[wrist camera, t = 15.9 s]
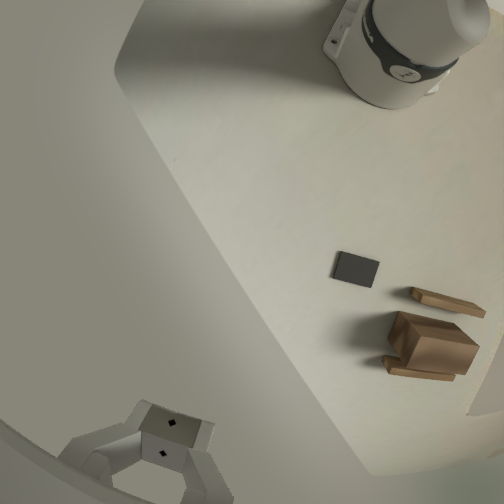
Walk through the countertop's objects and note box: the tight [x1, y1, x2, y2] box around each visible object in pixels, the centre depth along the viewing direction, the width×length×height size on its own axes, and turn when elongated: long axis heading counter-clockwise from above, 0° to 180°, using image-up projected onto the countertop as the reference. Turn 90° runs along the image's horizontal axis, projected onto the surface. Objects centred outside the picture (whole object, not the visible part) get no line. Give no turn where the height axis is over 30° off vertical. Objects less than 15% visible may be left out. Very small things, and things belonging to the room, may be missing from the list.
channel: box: [382, 287, 486, 381], centre depth 41 cm, size 13×14×4 cm
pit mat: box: [333, 251, 380, 288], centre depth 42 cm, size 4×6×1 cm, turn 76°
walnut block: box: [388, 311, 480, 375], centre depth 39 cm, size 5×12×9 cm, turn 76°
